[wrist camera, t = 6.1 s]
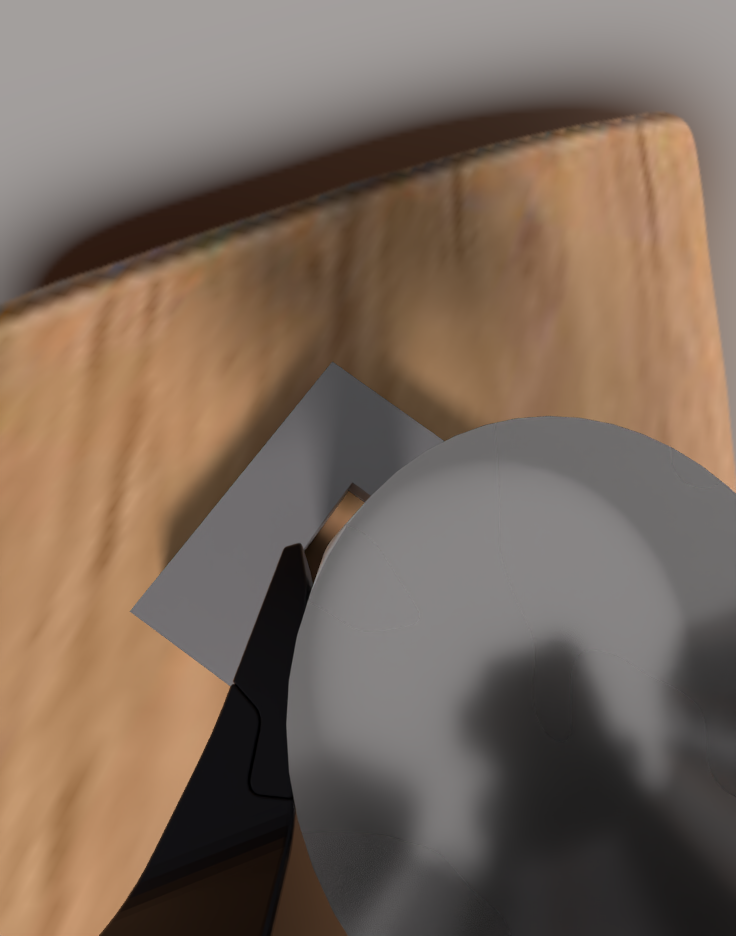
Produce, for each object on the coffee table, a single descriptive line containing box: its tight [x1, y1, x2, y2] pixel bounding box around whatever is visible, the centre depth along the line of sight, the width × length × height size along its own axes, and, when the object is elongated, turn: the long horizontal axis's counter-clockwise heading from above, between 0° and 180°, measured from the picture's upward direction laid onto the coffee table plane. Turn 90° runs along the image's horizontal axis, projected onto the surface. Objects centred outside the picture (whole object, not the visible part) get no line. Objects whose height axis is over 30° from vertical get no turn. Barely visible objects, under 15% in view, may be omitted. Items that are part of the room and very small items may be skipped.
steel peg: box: [286, 416, 736, 936], centre depth 9 cm, size 4×4×14 cm
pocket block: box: [130, 362, 444, 686], centre depth 19 cm, size 14×14×3 cm
